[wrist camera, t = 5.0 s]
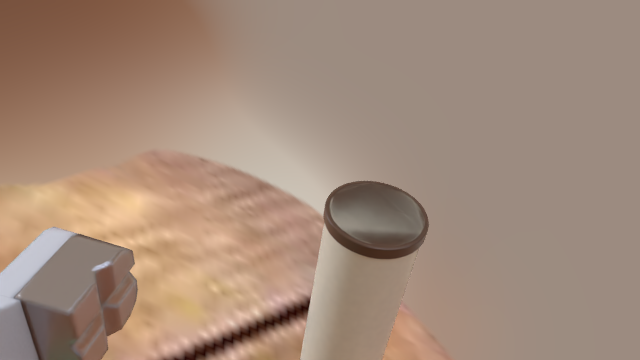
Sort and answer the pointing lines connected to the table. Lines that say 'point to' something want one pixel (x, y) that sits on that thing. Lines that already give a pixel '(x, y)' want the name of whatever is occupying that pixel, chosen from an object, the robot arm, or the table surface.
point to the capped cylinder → (362, 270)
